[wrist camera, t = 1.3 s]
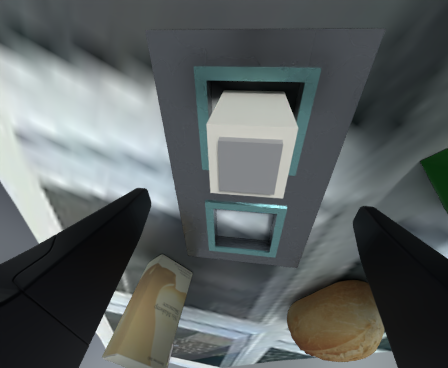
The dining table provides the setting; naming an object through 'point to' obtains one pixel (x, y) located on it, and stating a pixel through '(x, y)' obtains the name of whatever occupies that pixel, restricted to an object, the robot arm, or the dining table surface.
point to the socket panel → (304, 116)
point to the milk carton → (438, 174)
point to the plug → (251, 143)
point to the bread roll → (337, 322)
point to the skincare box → (151, 317)
